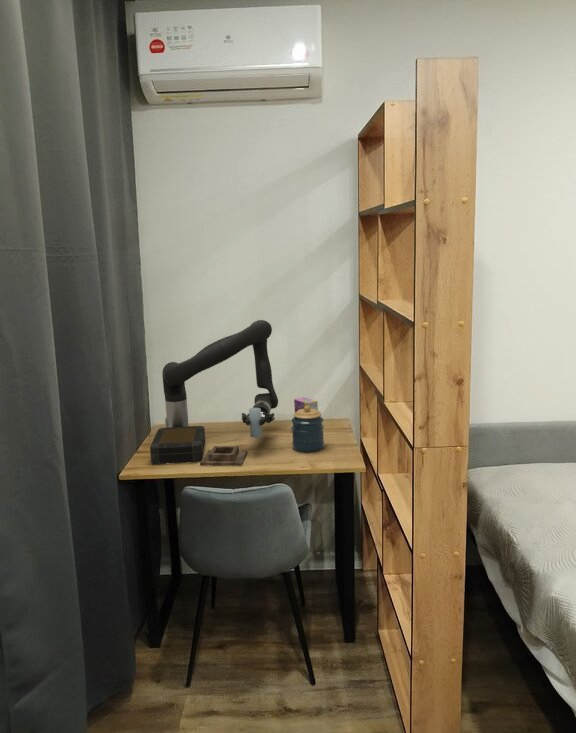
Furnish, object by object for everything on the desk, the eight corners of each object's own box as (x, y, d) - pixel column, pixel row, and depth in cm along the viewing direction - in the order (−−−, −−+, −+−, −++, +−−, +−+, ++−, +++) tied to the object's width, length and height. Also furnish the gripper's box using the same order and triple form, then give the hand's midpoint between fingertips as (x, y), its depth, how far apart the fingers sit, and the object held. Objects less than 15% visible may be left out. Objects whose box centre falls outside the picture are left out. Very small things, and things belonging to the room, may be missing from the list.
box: (294, 423, 281) (293, 398, 279) (304, 421, 285) (303, 396, 282) (308, 428, 273) (308, 403, 271) (318, 426, 277) (317, 400, 274)
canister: (322, 453, 241) (321, 410, 238) (290, 452, 243) (288, 410, 240) (325, 442, 254) (324, 401, 250) (295, 441, 256) (293, 401, 252)
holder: (200, 465, 232) (199, 456, 232) (208, 453, 246) (207, 444, 245) (241, 465, 231) (240, 456, 230) (247, 453, 244) (247, 444, 243)
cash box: (158, 444, 259) (156, 427, 258) (205, 442, 261) (204, 424, 259) (149, 465, 235) (147, 446, 233) (202, 462, 236) (200, 443, 235)
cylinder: (249, 437, 240) (248, 410, 238) (251, 434, 245) (250, 407, 242) (260, 437, 240) (259, 410, 238) (262, 434, 244) (261, 407, 242)
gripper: (243, 402, 255) (236, 414, 238) (277, 402, 253) (272, 414, 237) (244, 419, 256) (236, 432, 240) (277, 420, 255) (272, 432, 238)
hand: (254, 423), depth 238 cm, fingers closed on cylinder, 4 cm apart
